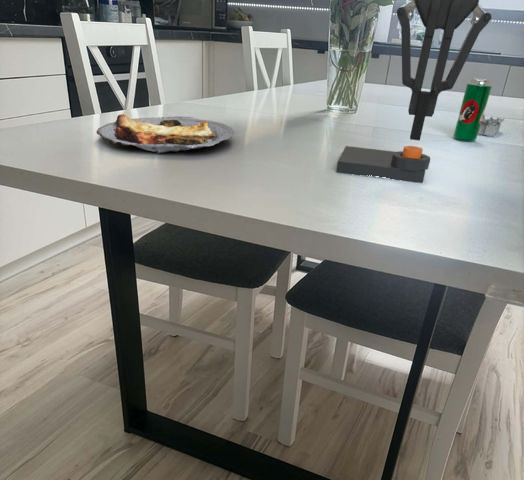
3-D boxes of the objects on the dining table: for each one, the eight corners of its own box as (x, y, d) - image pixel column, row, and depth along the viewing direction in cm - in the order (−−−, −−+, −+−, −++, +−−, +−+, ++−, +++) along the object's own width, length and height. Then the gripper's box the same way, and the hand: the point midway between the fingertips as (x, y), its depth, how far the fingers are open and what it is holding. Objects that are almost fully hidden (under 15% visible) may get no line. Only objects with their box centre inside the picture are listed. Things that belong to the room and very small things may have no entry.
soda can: (479, 142, 107) (497, 81, 100) (457, 141, 107) (473, 80, 100) (471, 137, 111) (488, 78, 104) (449, 136, 111) (465, 77, 104)
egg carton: (471, 127, 124) (476, 109, 121) (502, 131, 120) (507, 113, 118) (461, 132, 116) (466, 113, 114) (493, 137, 113) (499, 118, 111)
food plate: (83, 153, 81) (80, 131, 79) (114, 126, 100) (112, 107, 98) (232, 161, 82) (233, 139, 80) (234, 132, 101) (235, 114, 99)
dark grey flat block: (423, 166, 87) (428, 145, 85) (425, 184, 77) (430, 162, 75) (344, 156, 89) (347, 136, 87) (335, 173, 79) (338, 151, 77)
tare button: (420, 157, 79) (422, 147, 78) (420, 161, 76) (423, 151, 76) (401, 154, 79) (403, 144, 78) (401, 159, 77) (403, 148, 76)
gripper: (407, -62, 61) (371, 138, 74) (516, -57, 59) (459, 148, 72) (408, -54, 67) (374, 129, 80) (506, -50, 65) (455, 138, 78)
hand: (414, 138), depth 76 cm, fingers closed
